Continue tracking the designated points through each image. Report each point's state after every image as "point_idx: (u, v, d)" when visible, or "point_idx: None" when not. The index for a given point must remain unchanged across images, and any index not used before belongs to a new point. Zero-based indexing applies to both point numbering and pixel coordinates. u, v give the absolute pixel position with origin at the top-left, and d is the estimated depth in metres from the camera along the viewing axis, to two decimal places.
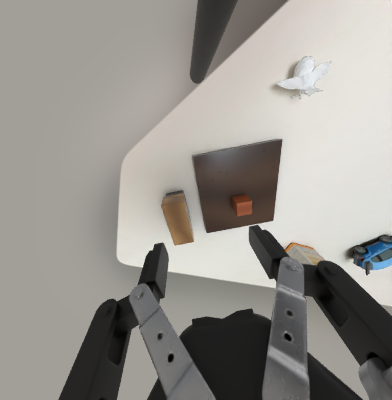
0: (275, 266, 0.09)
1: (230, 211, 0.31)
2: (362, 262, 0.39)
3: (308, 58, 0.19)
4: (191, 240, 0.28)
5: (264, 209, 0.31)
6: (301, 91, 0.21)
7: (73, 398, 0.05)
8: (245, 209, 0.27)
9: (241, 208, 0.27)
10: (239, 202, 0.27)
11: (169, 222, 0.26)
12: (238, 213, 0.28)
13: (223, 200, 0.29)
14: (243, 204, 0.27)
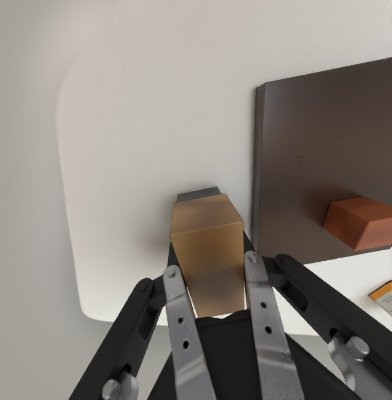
0: None
1: (315, 233, 0.14)
2: None
3: None
4: (240, 308, 0.12)
5: None
6: None
7: (107, 354, 0.06)
8: (382, 235, 0.11)
9: (374, 233, 0.10)
10: (373, 218, 0.10)
11: (192, 276, 0.09)
12: (361, 244, 0.11)
13: (309, 210, 0.13)
14: (385, 223, 0.10)
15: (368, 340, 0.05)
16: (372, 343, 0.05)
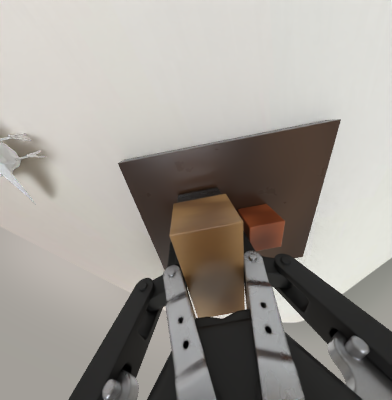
0: None
1: None
2: None
3: None
4: (240, 308, 0.12)
5: (290, 158, 0.12)
6: (13, 162, 0.10)
7: (108, 354, 0.06)
8: (268, 235, 0.12)
9: (263, 243, 0.12)
10: None
11: (192, 276, 0.09)
12: (274, 246, 0.13)
13: None
14: (254, 241, 0.12)
15: (368, 340, 0.05)
16: (372, 343, 0.05)
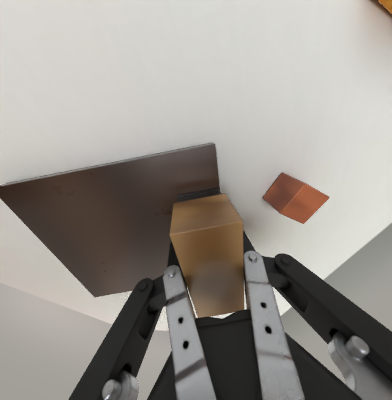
0: None
1: None
2: None
3: None
4: (240, 308, 0.12)
5: (174, 181, 0.12)
6: None
7: (107, 354, 0.06)
8: None
9: None
10: None
11: (192, 275, 0.09)
12: None
13: (157, 260, 0.16)
14: None
15: (368, 340, 0.05)
16: (372, 343, 0.05)
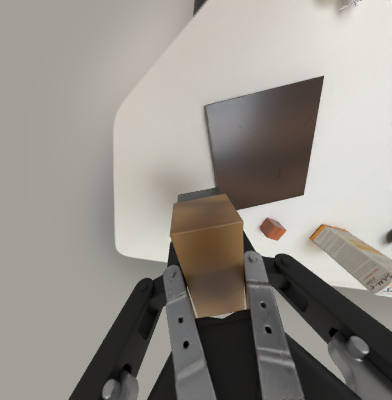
0: None
1: (251, 183, 0.25)
2: None
3: None
4: (240, 308, 0.12)
5: (293, 180, 0.25)
6: None
7: (108, 353, 0.06)
8: (267, 227, 0.29)
9: (264, 228, 0.30)
10: None
11: (192, 275, 0.09)
12: (265, 233, 0.29)
13: (243, 168, 0.23)
14: (263, 224, 0.30)
15: (368, 340, 0.05)
16: (372, 343, 0.05)
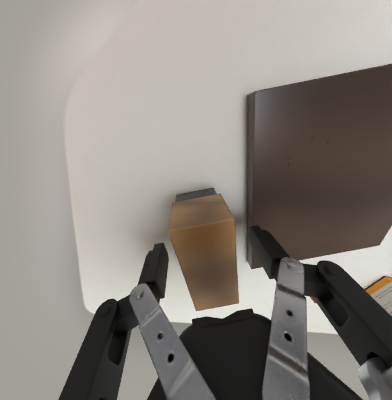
0: (275, 266, 0.09)
1: (307, 230, 0.15)
2: None
3: None
4: (234, 301, 0.12)
5: (373, 225, 0.15)
6: None
7: (73, 398, 0.05)
8: None
9: None
10: None
11: (189, 269, 0.10)
12: None
13: (300, 208, 0.14)
14: None
15: None
16: None
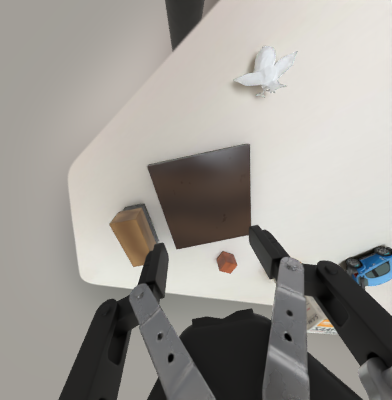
0: (275, 266, 0.09)
1: (200, 225, 0.27)
2: (356, 277, 0.35)
3: (267, 48, 0.16)
4: None
5: (239, 222, 0.28)
6: (264, 88, 0.17)
7: (73, 398, 0.05)
8: (221, 260, 0.32)
9: (219, 261, 0.32)
10: None
11: (122, 242, 0.22)
12: (219, 267, 0.32)
13: (190, 213, 0.26)
14: (219, 257, 0.33)
15: None
16: None
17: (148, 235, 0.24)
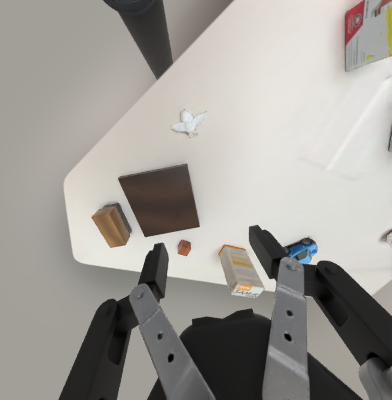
0: (275, 266, 0.09)
1: (160, 219, 0.38)
2: None
3: (184, 111, 0.26)
4: (123, 243, 0.35)
5: (189, 217, 0.38)
6: (188, 132, 0.28)
7: (73, 398, 0.05)
8: (179, 246, 0.42)
9: (178, 247, 0.43)
10: None
11: (101, 229, 0.33)
12: (178, 251, 0.42)
13: (152, 211, 0.36)
14: (179, 244, 0.43)
15: None
16: None
17: (120, 225, 0.34)
